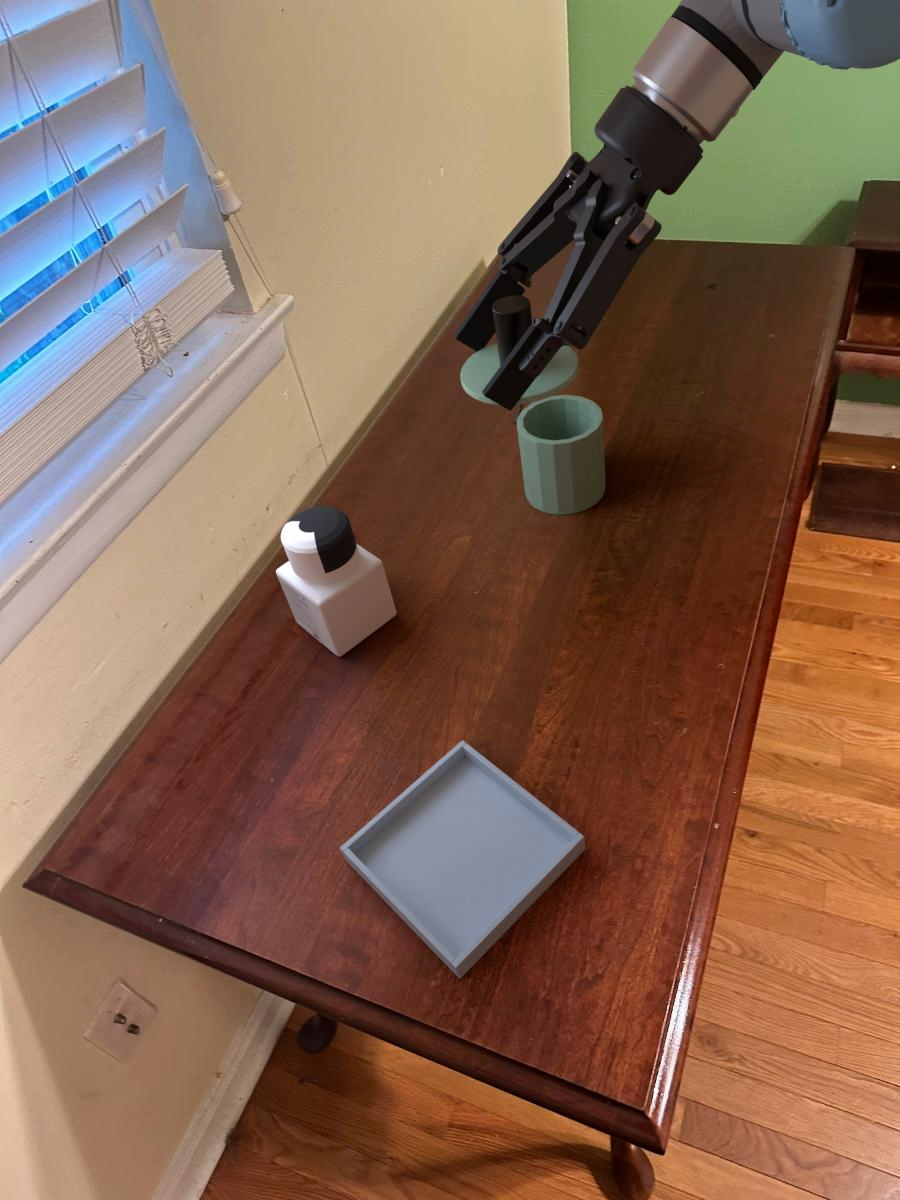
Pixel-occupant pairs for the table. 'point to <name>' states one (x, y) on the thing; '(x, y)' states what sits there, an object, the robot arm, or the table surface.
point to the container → (333, 580)
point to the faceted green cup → (562, 454)
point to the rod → (516, 413)
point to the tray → (463, 855)
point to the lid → (509, 329)
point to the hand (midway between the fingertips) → (480, 371)
